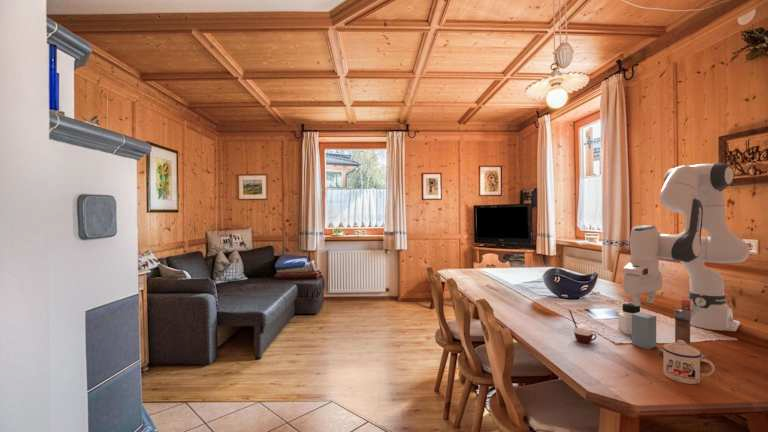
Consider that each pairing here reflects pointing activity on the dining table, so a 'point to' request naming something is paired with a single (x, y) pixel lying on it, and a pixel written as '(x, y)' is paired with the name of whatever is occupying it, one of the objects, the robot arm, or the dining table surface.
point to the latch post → (682, 335)
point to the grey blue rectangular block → (644, 330)
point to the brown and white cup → (582, 332)
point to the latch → (686, 310)
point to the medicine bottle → (627, 317)
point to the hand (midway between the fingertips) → (643, 303)
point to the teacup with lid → (683, 363)
